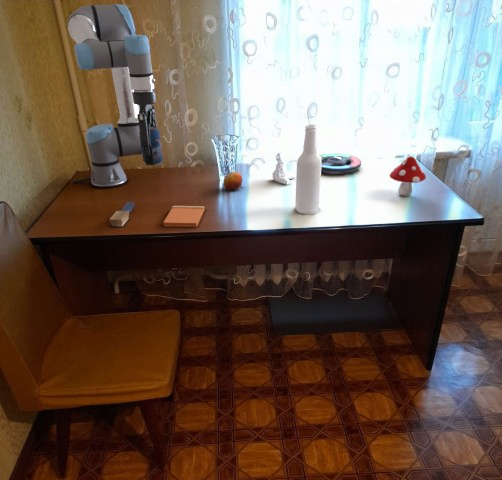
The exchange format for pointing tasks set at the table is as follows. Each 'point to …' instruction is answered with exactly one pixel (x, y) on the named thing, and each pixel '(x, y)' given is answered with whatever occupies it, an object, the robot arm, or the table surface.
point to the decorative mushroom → (407, 175)
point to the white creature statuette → (281, 170)
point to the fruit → (233, 181)
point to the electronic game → (339, 163)
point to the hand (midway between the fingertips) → (153, 161)
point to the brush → (121, 215)
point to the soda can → (154, 145)
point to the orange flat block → (184, 216)
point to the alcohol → (308, 174)
